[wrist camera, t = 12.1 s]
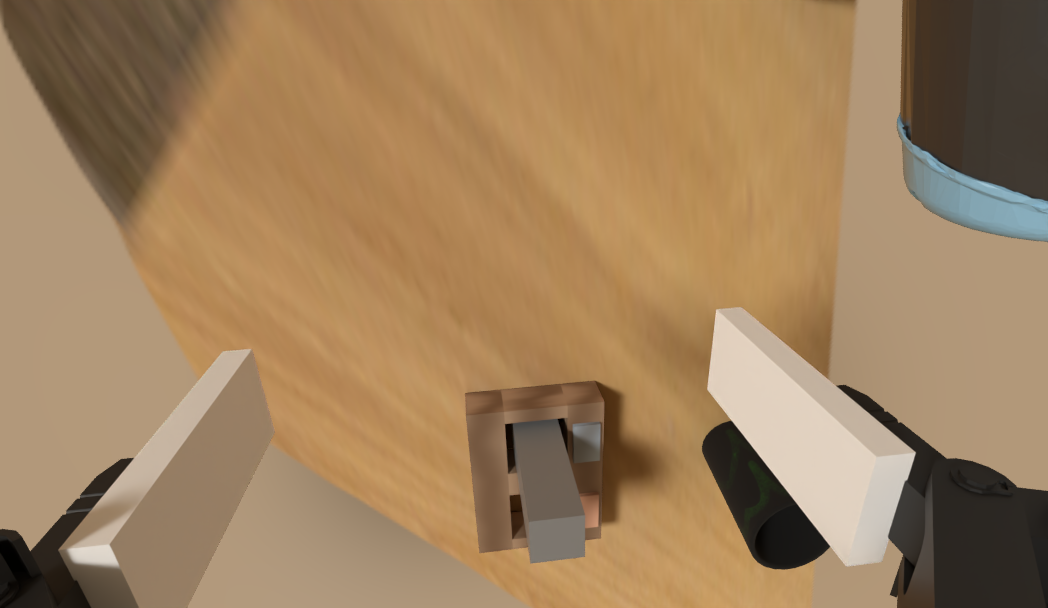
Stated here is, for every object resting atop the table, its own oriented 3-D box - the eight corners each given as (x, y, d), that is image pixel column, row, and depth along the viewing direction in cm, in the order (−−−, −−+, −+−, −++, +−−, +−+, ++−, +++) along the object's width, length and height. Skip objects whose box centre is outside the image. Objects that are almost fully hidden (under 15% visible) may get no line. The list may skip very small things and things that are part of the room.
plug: (552, 403, 51) (585, 515, 38) (553, 437, 52) (584, 556, 40) (510, 407, 50) (528, 521, 38) (512, 442, 52) (530, 563, 39)
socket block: (594, 380, 50) (605, 404, 47) (592, 511, 57) (602, 541, 53) (465, 393, 49) (465, 418, 46) (478, 525, 56) (479, 556, 52)
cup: (743, 479, 57) (811, 575, 46) (680, 466, 56) (735, 564, 45) (777, 419, 55) (858, 507, 44) (711, 405, 53) (778, 492, 42)
